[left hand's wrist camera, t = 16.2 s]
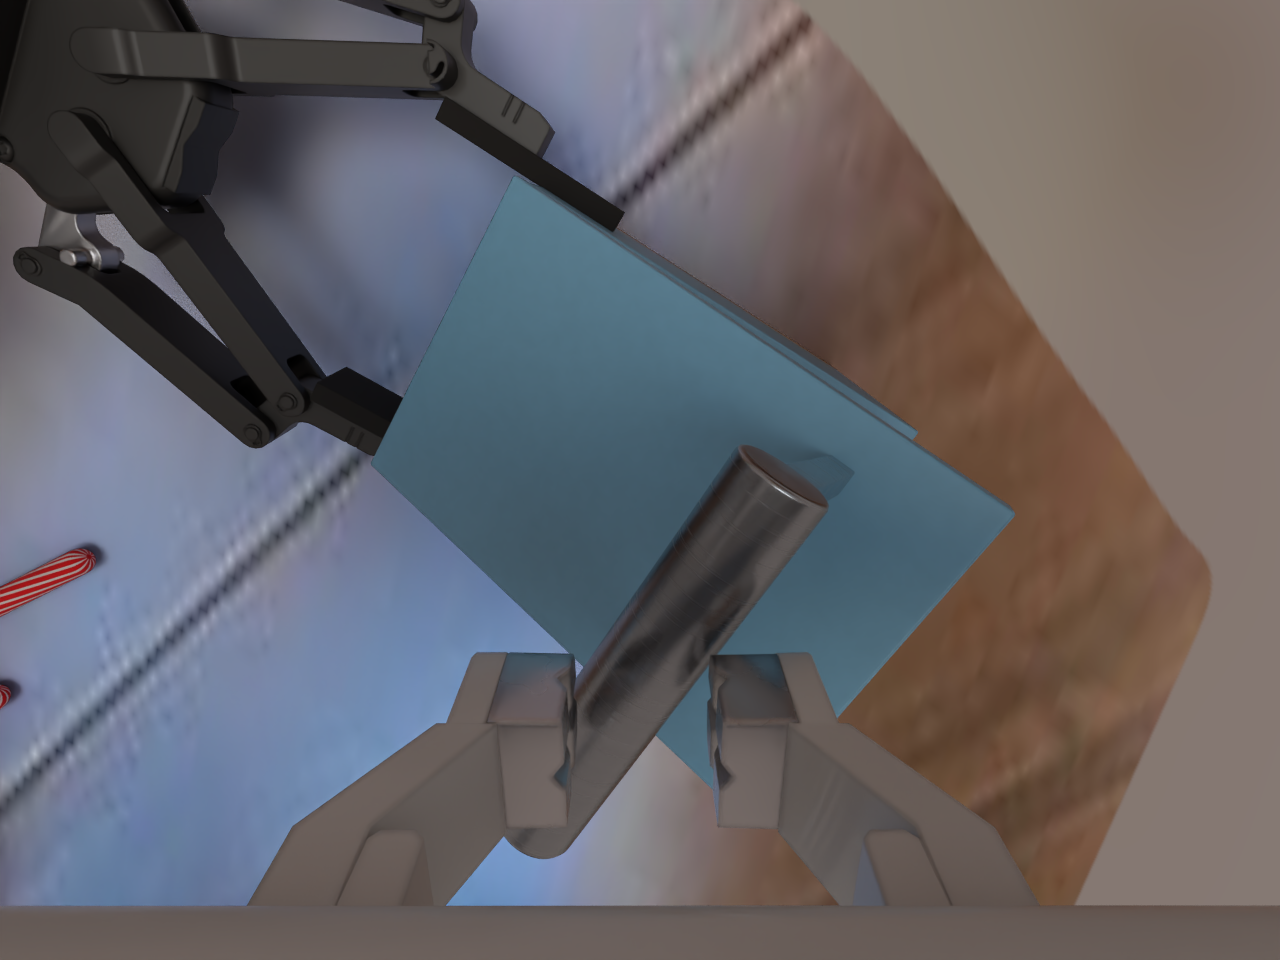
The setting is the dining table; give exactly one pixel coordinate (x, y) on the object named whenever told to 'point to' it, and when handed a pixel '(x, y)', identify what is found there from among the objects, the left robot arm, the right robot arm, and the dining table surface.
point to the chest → (754, 325)
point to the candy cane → (42, 586)
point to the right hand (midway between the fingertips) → (546, 351)
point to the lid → (664, 490)
